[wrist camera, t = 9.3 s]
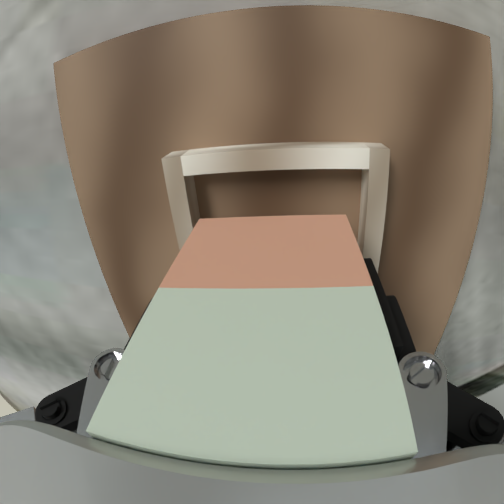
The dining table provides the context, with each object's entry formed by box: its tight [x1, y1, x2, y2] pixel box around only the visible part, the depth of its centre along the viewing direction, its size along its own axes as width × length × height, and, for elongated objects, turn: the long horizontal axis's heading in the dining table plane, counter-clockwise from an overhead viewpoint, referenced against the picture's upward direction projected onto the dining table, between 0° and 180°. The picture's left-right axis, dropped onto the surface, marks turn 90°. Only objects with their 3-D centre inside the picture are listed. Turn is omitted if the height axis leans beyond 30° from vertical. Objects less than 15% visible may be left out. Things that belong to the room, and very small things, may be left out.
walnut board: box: [53, 5, 493, 355], centre depth 14 cm, size 20×20×3 cm
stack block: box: [86, 214, 418, 470], centre depth 8 cm, size 5×5×8 cm
